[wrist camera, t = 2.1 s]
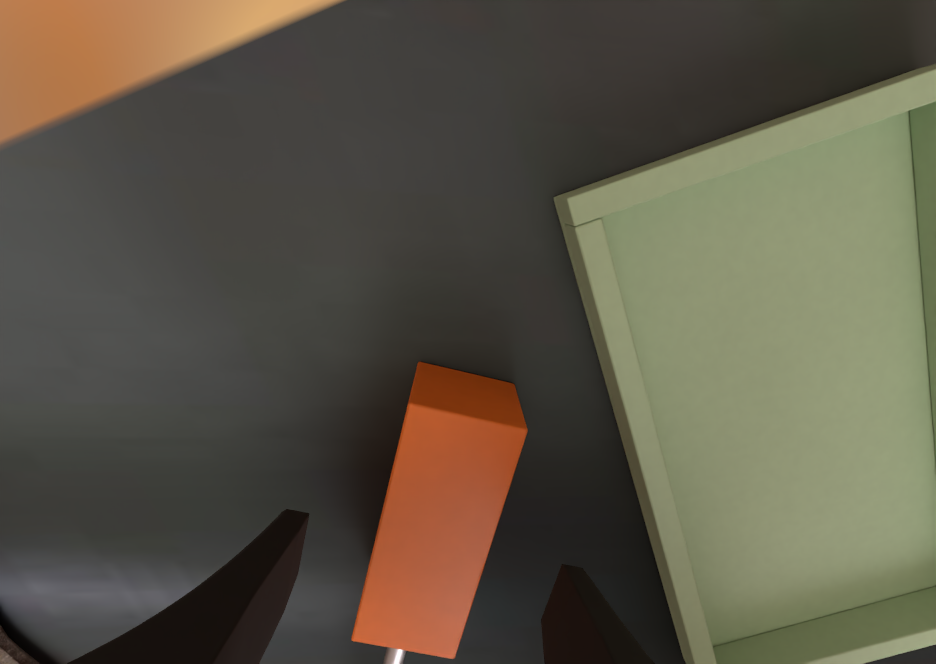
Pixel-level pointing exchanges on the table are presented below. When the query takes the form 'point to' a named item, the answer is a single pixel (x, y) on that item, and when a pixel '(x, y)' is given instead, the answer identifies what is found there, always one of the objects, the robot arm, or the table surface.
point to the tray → (779, 374)
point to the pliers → (12, 652)
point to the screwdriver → (440, 511)
